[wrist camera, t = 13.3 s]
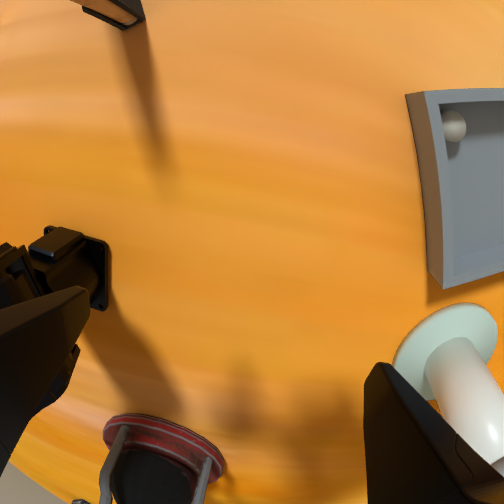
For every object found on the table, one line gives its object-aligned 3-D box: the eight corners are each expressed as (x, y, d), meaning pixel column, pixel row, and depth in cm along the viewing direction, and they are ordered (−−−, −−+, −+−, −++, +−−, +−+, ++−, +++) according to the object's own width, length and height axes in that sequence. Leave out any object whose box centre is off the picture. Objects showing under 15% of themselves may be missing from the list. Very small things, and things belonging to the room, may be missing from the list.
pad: (455, 395, 26) (457, 401, 25) (372, 389, 26) (373, 397, 25) (510, 312, 22) (515, 318, 21) (428, 291, 22) (432, 298, 21)
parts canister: (437, 388, 24) (480, 508, 12) (412, 365, 23) (460, 505, 11) (481, 353, 22) (541, 468, 10) (461, 325, 21) (535, 457, 9)
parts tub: (427, 269, 21) (442, 289, 18) (404, 94, 16) (423, 91, 14) (539, 237, 19) (559, 250, 16) (531, 90, 14) (555, 91, 11)
